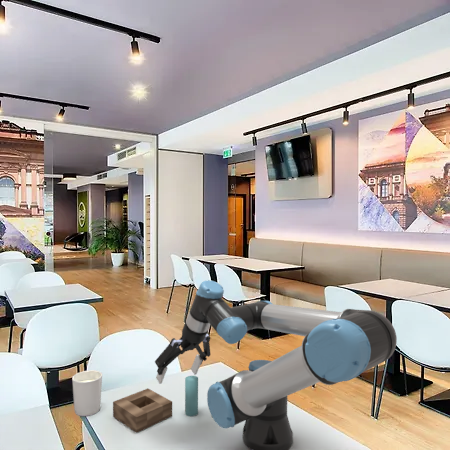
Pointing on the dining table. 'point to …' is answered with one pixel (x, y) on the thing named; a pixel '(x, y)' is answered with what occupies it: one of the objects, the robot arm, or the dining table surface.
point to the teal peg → (191, 395)
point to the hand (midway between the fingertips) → (176, 376)
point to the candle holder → (87, 392)
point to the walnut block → (142, 409)
